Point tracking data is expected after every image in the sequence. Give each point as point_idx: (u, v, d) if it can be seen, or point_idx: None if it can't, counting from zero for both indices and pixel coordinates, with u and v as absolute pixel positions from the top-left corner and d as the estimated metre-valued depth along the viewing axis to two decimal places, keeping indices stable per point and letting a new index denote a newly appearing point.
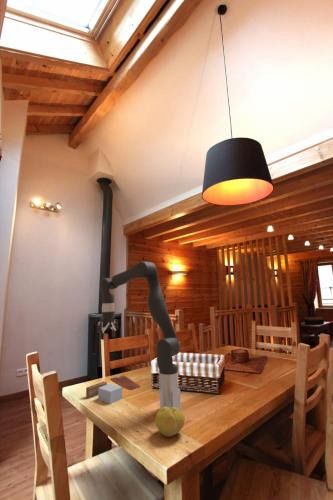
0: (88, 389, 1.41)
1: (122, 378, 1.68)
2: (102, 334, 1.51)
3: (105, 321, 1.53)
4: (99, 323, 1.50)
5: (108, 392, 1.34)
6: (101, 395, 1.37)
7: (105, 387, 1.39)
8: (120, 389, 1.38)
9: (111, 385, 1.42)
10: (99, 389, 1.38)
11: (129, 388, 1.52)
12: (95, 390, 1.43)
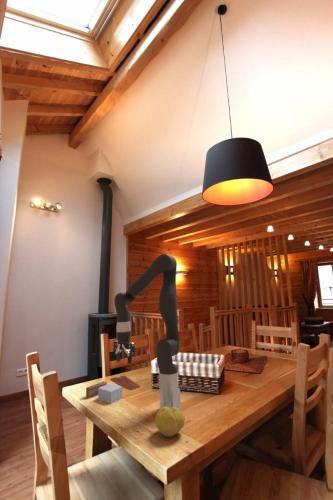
0: (88, 389, 1.41)
1: (122, 378, 1.68)
2: None
3: None
4: (133, 344, 1.33)
5: (108, 392, 1.34)
6: (101, 395, 1.37)
7: (105, 387, 1.39)
8: (120, 389, 1.38)
9: (111, 385, 1.42)
10: (99, 389, 1.38)
11: (129, 388, 1.52)
12: (95, 390, 1.43)
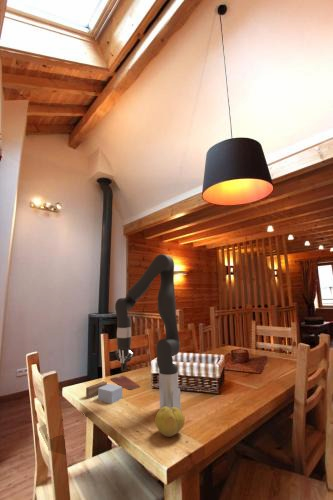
0: (88, 389, 1.41)
1: (122, 378, 1.68)
2: None
3: None
4: (132, 355, 1.33)
5: (109, 392, 1.34)
6: (101, 395, 1.36)
7: (105, 387, 1.39)
8: (120, 389, 1.39)
9: (111, 385, 1.42)
10: (99, 389, 1.38)
11: (129, 388, 1.52)
12: (95, 390, 1.43)
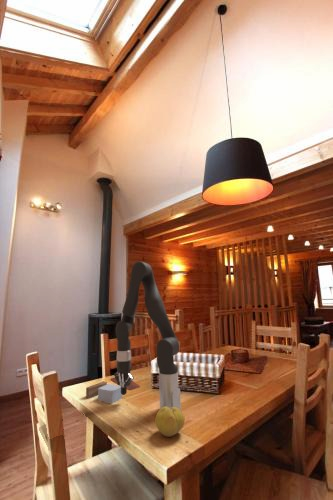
0: (88, 389, 1.41)
1: None
2: None
3: None
4: (132, 379, 1.31)
5: (109, 392, 1.34)
6: (101, 396, 1.36)
7: (105, 387, 1.39)
8: (120, 389, 1.39)
9: (110, 385, 1.42)
10: (99, 389, 1.37)
11: (129, 388, 1.52)
12: (95, 390, 1.43)
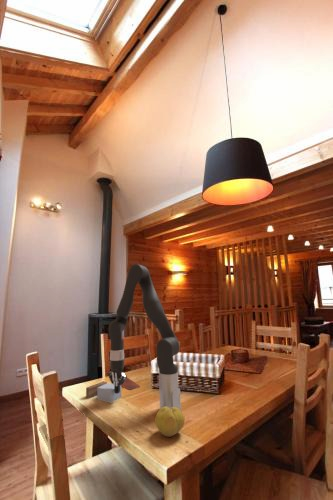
0: (88, 389, 1.41)
1: None
2: None
3: None
4: (125, 378, 1.34)
5: (108, 391, 1.35)
6: (100, 395, 1.38)
7: (104, 386, 1.40)
8: None
9: (110, 384, 1.43)
10: (98, 389, 1.39)
11: (129, 388, 1.52)
12: (95, 390, 1.43)
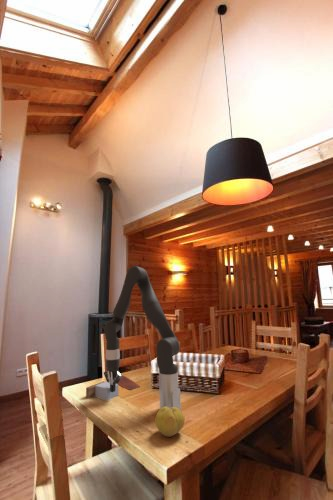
0: (88, 389, 1.41)
1: (121, 378, 1.68)
2: None
3: None
4: (120, 377, 1.36)
5: (104, 389, 1.38)
6: (97, 392, 1.41)
7: (102, 385, 1.43)
8: (116, 387, 1.42)
9: (108, 383, 1.46)
10: (96, 386, 1.42)
11: (129, 388, 1.52)
12: None
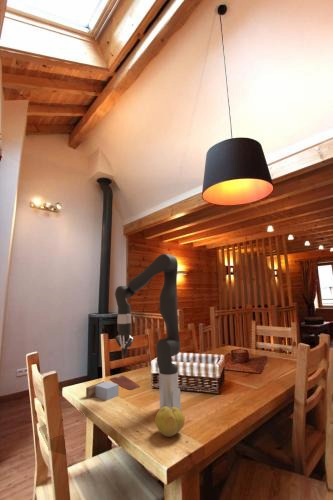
0: (88, 389, 1.41)
1: (121, 378, 1.68)
2: None
3: None
4: (132, 340, 1.38)
5: (104, 389, 1.38)
6: (97, 392, 1.41)
7: (102, 384, 1.43)
8: (116, 386, 1.42)
9: (108, 382, 1.46)
10: (96, 386, 1.43)
11: (129, 388, 1.52)
12: None
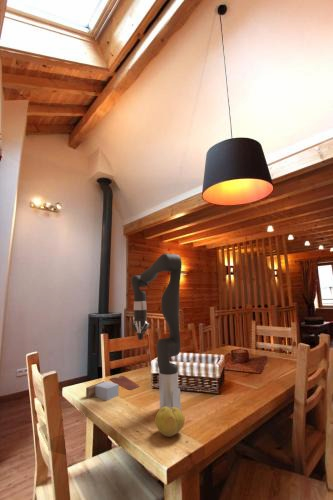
0: (88, 389, 1.41)
1: (121, 378, 1.68)
2: None
3: None
4: (148, 325, 1.48)
5: (104, 389, 1.38)
6: (97, 392, 1.41)
7: (102, 384, 1.43)
8: (116, 386, 1.42)
9: (108, 382, 1.46)
10: (96, 386, 1.43)
11: (129, 388, 1.52)
12: None
